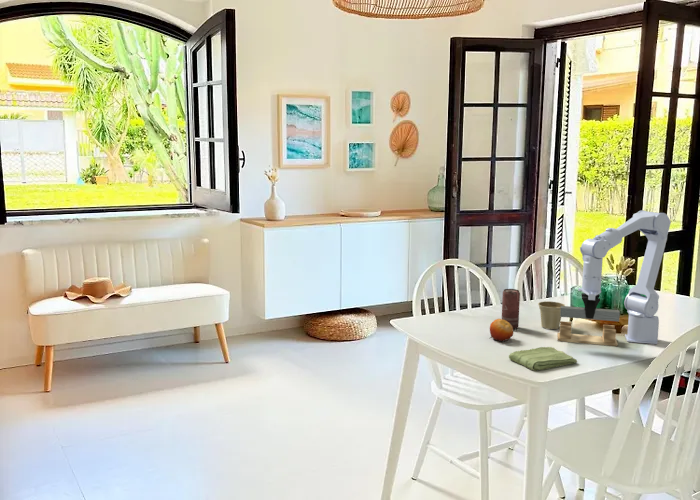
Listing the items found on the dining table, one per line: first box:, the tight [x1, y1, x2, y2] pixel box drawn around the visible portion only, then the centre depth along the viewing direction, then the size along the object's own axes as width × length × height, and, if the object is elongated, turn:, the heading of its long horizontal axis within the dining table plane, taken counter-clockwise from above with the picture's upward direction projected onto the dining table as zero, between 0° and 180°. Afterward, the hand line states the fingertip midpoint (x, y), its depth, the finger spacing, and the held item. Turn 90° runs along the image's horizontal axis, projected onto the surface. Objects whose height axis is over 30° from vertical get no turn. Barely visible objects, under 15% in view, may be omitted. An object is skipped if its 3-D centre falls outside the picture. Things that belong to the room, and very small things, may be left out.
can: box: [501, 288, 521, 331], centre depth 237 cm, size 6×6×14 cm
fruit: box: [489, 318, 514, 342], centre depth 224 cm, size 8×8×8 cm
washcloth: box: [508, 346, 578, 372], centre depth 201 cm, size 13×18×3 cm
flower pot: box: [537, 300, 566, 330], centre depth 238 cm, size 9×9×9 cm
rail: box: [560, 305, 621, 322], centre depth 213 cm, size 18×3×3 cm, turn 72°
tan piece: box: [556, 320, 618, 347], centre depth 222 cm, size 19×8×5 cm, turn 72°
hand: (589, 316), depth 213 cm, fingers closed on rail, 3 cm apart
